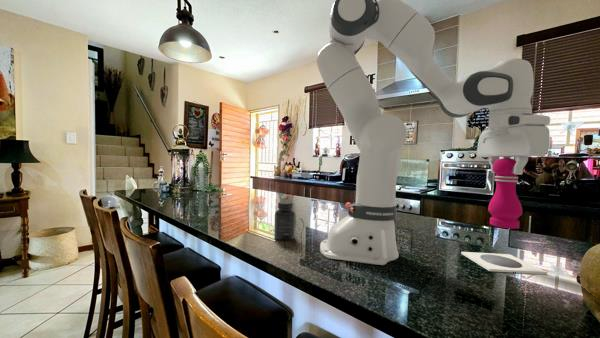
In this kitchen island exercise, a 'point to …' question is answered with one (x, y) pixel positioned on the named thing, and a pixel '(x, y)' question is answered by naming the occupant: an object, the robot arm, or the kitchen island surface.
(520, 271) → the white coaster
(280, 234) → the supplement bottle
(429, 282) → the kitchen island surface
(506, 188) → the pepper mill
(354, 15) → the robot arm
